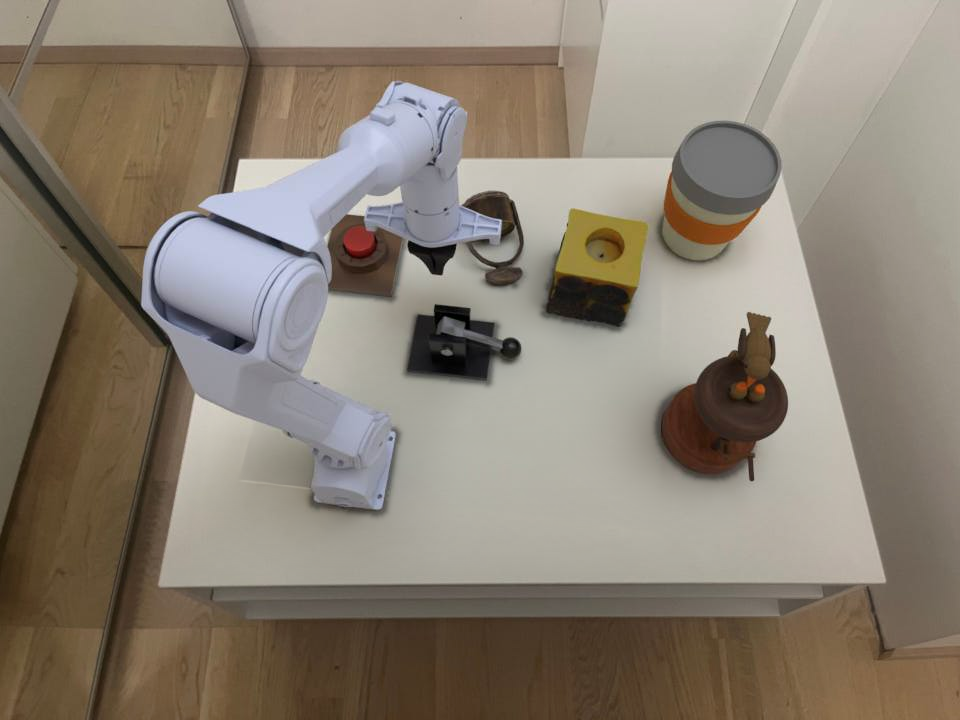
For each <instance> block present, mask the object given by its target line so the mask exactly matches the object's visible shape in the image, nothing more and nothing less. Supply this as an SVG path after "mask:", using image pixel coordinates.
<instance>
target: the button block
mask: <svg viewBox="0 0 960 720" xmlns="http://www.w3.org/2000/svg"><path fill="white" fill-rule="evenodd" d="M364 218H365V215H356V214H348V213H347V214H346V215H345V216H344V217H343V218H342V219H341V220H340V221H339V222H338V223H337V224H336V225H335V226H334V227H333V228H332V229H331V230H330V234H329V239H328V242H327V247H328V249H329V252H330V257H331V265H332V276H331V281H330V283H329V284H328V291H333V292H342V293H343V292H344V293H351V294H352V293H353V294H362V295H370V296H371V295H372V296H380V297H381V296H382V297H389V298H391V297H393V293H394V288H395V283H396V277H397V273H398V270H399V269H398V268H399V264H400V259H401V255H402V250H403V245H404V242H405V241H404V240H405V238H403V237H400V236H398V235H396V234H393V233H391V232H389V231H387V230H384V229H382V228H380V227H377V230H376V231H372V232H373V235H374V238H375V242H376V248H375V250H374V252H373V253H372V254H371V255H370V256H368V257H365V258H354V257H352V256H350V255H349V254H348V252H347V250H346V247H345V244H344V235H345V234H346V232H347V231H348V230H349V229H351V228H353V227H357V226H363V227H366V226H365V222H364Z"/></svg>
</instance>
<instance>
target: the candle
mask: <svg viewBox="0 0 960 720" xmlns="http://www.w3.org/2000/svg"><path fill="white" fill-rule="evenodd" d="M567 219H568V220H567V223H566V229H565V232H564V233H563V236H562V239H561V242H560V246H559V251H558V255H557V261H556V264H555V268H554V273H553V276H552V277H553V278H552V283H551V286H550V290H549V294H548V298H547V299H548V301H547V303H546V307H545V312H546V313H547V314H555V315H557V316H562V317H564V318H569V319H576V320H579V321H587V322H597V323H605V324H606V325H607V324H608V325H610V326H614V327H621V326H622V325H623V323H624V322H625V319H626V316H627V315H628V311H629V308H630V307H631V304H632V299H633V298H634V297H635V293H637V290H638V288H639V281H640V276H641V272H642V271H641V270H642V260H643V254H644V250H645V245H646V241H647V236H648V231H649V224H648V222H646V221H641V220H635V219H628V218H621V217H616V216H610V215H605V214H599V213H595V212H590V211H587V210H582V209H577V208H574V207H573V208H570V210H569V211H568V216H567Z"/></svg>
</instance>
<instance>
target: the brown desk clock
mask: <svg viewBox="0 0 960 720" xmlns="http://www.w3.org/2000/svg"><path fill="white" fill-rule="evenodd" d="M461 206H463V207H465V208H468V209H470V210H472V211H475V212H477V213H479V214H482V215H484V216H487V217H490V218H494V219H500V220H502V228H501V237H500V238H502V237H505V236H507V235H509V234H510V233H512V232H513V231H514V230H515V229H516V233H517V237H518V240H519V245H518V249H517V251H516V253H515V255H514V256H513V257H511V258H510V259H508V260H505V261H492V260H489V259H487V258H485V257H484V256H482V255H481V254H480V253H479V252H478V251H477V250H476V249H475V247H474V246H473V245H474V244H473V243H472V241H469V242H465V243H466V246H467V248H468V250H469V251H470V253H471V255H473V257H474V258H476V259H477V260H478V261H479V262H480V263H482V264H483V265H486V266H487V267H492V268H495V269H494V270H490V271H486V272H485V273H484V278H485V279H486V280H487V281H489V282H491V283H493V284H497V285H508V284H511V283H515V282H516V281H517V280H518V279H520V278H521V277H522V275H523V269H522V268H521V267H519V266H516V267H515V266H513V267H509V265H512V264H514V262H516V261H517V260H518V258H519V257H520V255H521V254H522V253H523V248H524V244H525V240H524V239H525V238H524V232H523V229H522V224H521V221H520V217H519V213H518V210H517V206H516V203H515V201H514V200H513V199H511V198H510V196H509V195H508V194H507V193H506V192H504V191H502V190H501V191H500V190H487V191H482V192H478V193H476V194H473V195H472V196H470V197H469V198H467V199H466V200H465V202H464V203H462V204H461ZM485 240H486V239H479V240H475V241H476V242H483V241H485Z"/></svg>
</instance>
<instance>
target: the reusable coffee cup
mask: <svg viewBox="0 0 960 720" xmlns="http://www.w3.org/2000/svg"><path fill="white" fill-rule="evenodd" d="M782 165H783V164H782V158H781V155H780V151H779V150H778V148H777V147H776V144H775V143H773V142H772V140H771V139H770V138H769V137H768V136H767V135H765V134H764V133H763V132H761V131H760V130H758V129H757V128H755V127H753V126H750V125H748V124H746V123H742V122H737V121H732V120H714V121H708V122H705V123H702V124H700V125H697V126H695V127H694V128H692V129H691V130H690V131H689V132H687V134H686V135H685V137H684V138H683V140H682V142H681V143H680V145H679V147H678V149H677V150H676V152H675V155H674V157H673V159H672V163H671V171H670V173H669V175H668V179H667V184H666V189H665V194H664V200H663V213H664V215H663V216H664V217H663V220H662V221H663V222H662V225H661V226H662V227H661V234H662V238H663V240H664V243H665V245H666V246H667V247H668V249H670V250H671V251H672V252H673V253H674V254H676V255H677V256H679V257H681V258H684V259H687V260H690V261H706V260H710V259H712V258H715V257H716V256H718V255H720V253H721V252H722V251H723V250H724V249H725V248H726V246H727V245H728V244H729V243H730V242H731V241H733V240H735V239H736V238H738V237H739V236H740V235H741V233H743V231H744V230H745V229H746V228H747V227H748V225H749V224H750V223H751V222H752V221H753V220H754V219H755V217H756V216H757V215H758V214H759V213H760V211H761V209H762V207H763V206H764V205H765V204H766V203H767V202H768V201H769V199H771V196H773V195H772V194H773V193H774V191H775V188H776V186H777V184H778V181H779V178H780V176H781V172H782V168H783V167H782Z"/></svg>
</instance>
